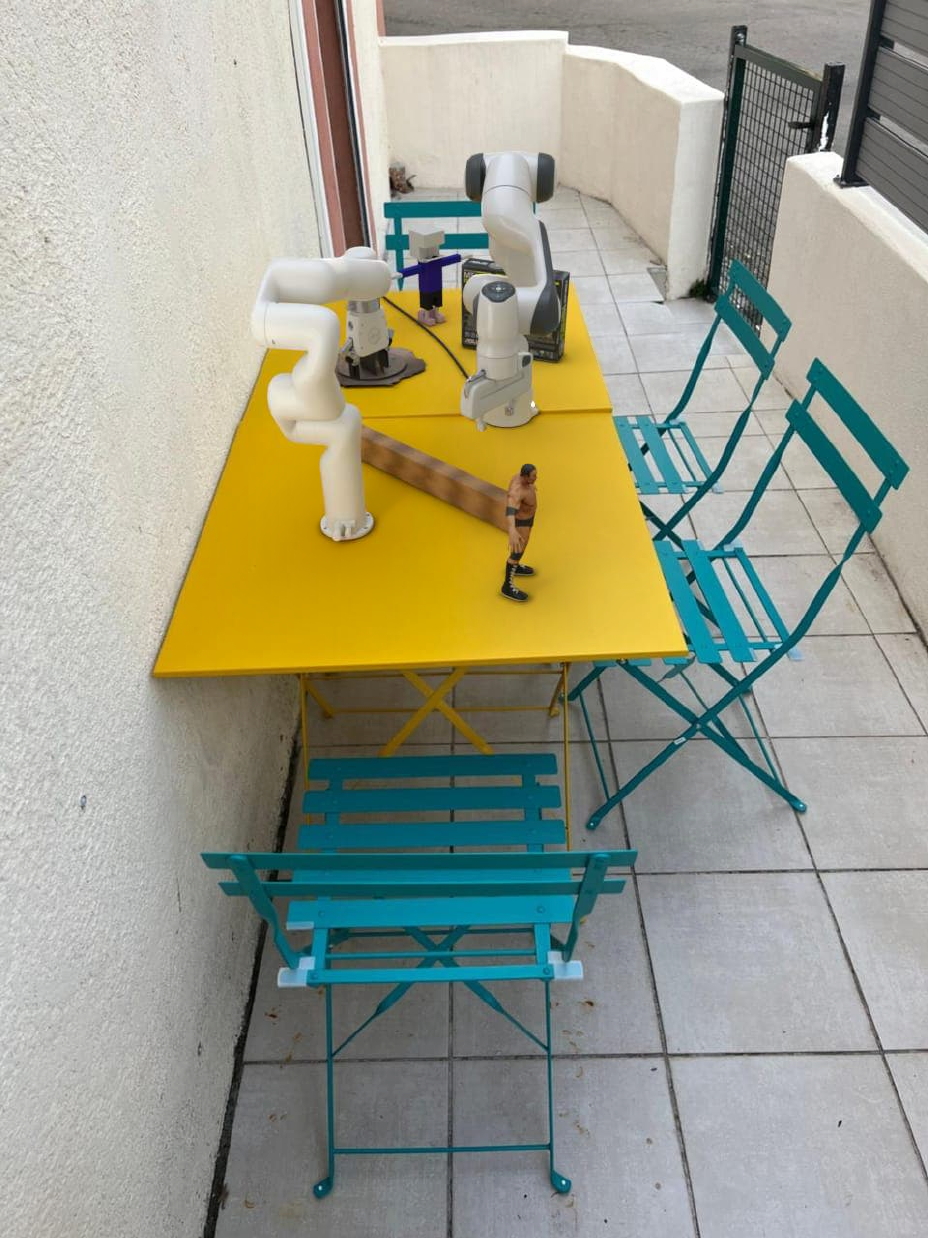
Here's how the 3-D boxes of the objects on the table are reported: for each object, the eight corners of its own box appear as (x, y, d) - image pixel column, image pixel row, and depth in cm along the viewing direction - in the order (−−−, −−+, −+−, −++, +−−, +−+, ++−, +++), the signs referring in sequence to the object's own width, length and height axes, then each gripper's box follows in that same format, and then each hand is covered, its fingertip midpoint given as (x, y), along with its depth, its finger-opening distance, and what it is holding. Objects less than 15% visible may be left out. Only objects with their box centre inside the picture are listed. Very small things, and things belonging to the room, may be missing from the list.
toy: (460, 304, 319) (459, 216, 299) (477, 312, 313) (477, 222, 294) (381, 329, 302) (375, 237, 283) (398, 337, 296) (393, 244, 277)
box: (565, 354, 285) (571, 269, 268) (558, 363, 280) (563, 277, 263) (468, 339, 295) (468, 256, 278) (460, 347, 290) (459, 264, 272)
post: (350, 454, 237) (348, 429, 233) (363, 448, 240) (361, 423, 235) (511, 533, 209) (512, 507, 204) (523, 525, 211) (525, 498, 206)
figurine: (524, 621, 184) (530, 498, 165) (494, 617, 185) (497, 494, 166) (540, 553, 202) (547, 435, 183) (512, 550, 203) (516, 432, 184)
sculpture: (406, 397, 263) (403, 345, 252) (297, 384, 270) (290, 333, 259) (437, 352, 287) (436, 303, 277) (336, 341, 294) (331, 293, 284)
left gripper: (347, 318, 201) (353, 388, 212) (401, 297, 211) (405, 365, 222) (325, 310, 205) (333, 379, 216) (379, 289, 215) (384, 357, 226)
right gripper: (475, 383, 181) (475, 444, 190) (538, 352, 192) (535, 410, 201) (452, 374, 184) (453, 434, 193) (515, 344, 195) (514, 402, 204)
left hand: (369, 372), depth 219 cm, fingers open, 9 cm apart
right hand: (495, 422), depth 197 cm, fingers open, 8 cm apart
